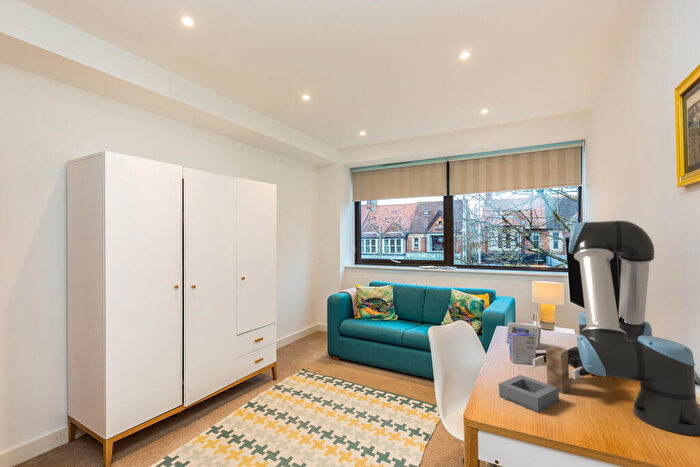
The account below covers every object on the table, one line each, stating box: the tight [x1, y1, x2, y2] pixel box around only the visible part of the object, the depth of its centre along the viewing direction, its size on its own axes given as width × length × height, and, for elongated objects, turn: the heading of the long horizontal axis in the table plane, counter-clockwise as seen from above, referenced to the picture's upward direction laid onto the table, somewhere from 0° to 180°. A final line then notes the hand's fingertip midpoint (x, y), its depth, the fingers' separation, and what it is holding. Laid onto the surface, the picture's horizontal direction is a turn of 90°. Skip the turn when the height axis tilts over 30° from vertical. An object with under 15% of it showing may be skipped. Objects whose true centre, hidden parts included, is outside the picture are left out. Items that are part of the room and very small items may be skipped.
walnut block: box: [545, 346, 570, 394], centre depth 116 cm, size 5×5×14 cm
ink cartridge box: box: [508, 328, 537, 365], centre depth 143 cm, size 10×6×14 cm, turn 78°
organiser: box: [498, 374, 560, 414], centre depth 109 cm, size 13×13×4 cm
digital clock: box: [505, 321, 542, 350], centre depth 166 cm, size 16×9×11 cm, turn 30°
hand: (552, 368), depth 115 cm, fingers open, 12 cm apart
